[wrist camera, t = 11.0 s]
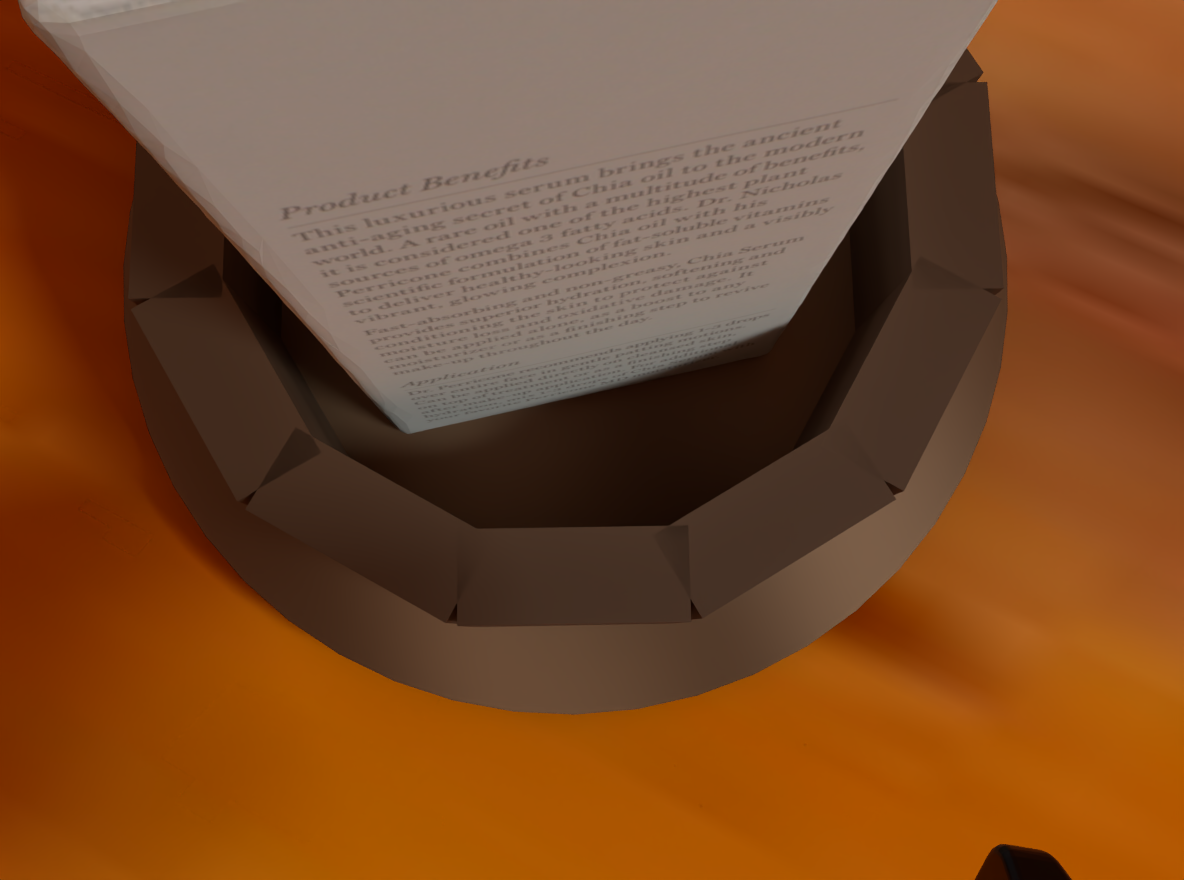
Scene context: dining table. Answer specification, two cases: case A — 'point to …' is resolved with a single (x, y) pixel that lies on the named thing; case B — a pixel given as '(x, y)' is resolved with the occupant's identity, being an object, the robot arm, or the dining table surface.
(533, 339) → the skincare box
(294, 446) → the stone fire pit
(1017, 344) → the dining table surface
